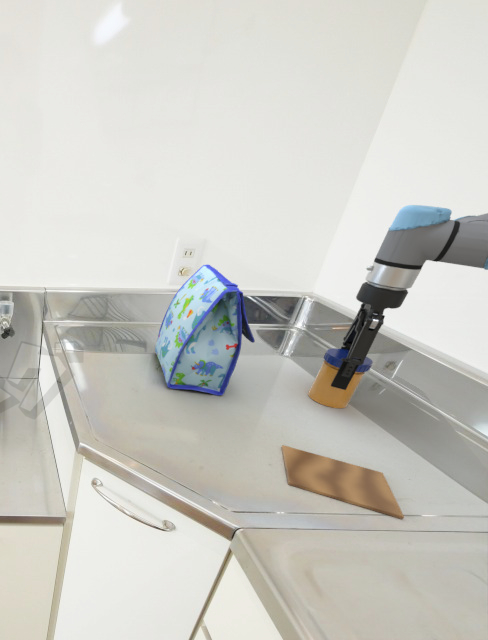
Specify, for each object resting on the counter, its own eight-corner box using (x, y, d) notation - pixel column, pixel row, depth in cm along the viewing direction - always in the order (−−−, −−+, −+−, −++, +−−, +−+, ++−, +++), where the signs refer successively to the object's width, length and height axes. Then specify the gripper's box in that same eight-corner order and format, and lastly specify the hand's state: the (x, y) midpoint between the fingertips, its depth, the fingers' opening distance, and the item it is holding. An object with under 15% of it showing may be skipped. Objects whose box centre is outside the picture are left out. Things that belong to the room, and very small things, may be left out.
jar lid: (355, 357, 100) (359, 350, 99) (377, 374, 92) (381, 367, 92) (316, 353, 101) (319, 346, 100) (335, 369, 94) (339, 362, 93)
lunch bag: (236, 399, 99) (279, 292, 87) (163, 390, 101) (195, 284, 89) (208, 358, 118) (240, 265, 106) (148, 351, 120) (171, 259, 108)
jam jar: (343, 396, 103) (363, 357, 98) (350, 411, 97) (373, 371, 92) (305, 387, 106) (324, 349, 101) (310, 402, 100) (330, 362, 95)
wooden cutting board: (381, 475, 78) (382, 472, 77) (402, 519, 68) (404, 516, 68) (281, 447, 84) (282, 444, 83) (288, 484, 74) (289, 482, 74)
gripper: (359, 271, 97) (317, 359, 108) (368, 293, 82) (318, 392, 93) (401, 278, 94) (353, 368, 105) (419, 302, 78) (360, 404, 89)
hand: (337, 379), depth 99 cm, fingers closed on jar lid, 8 cm apart
